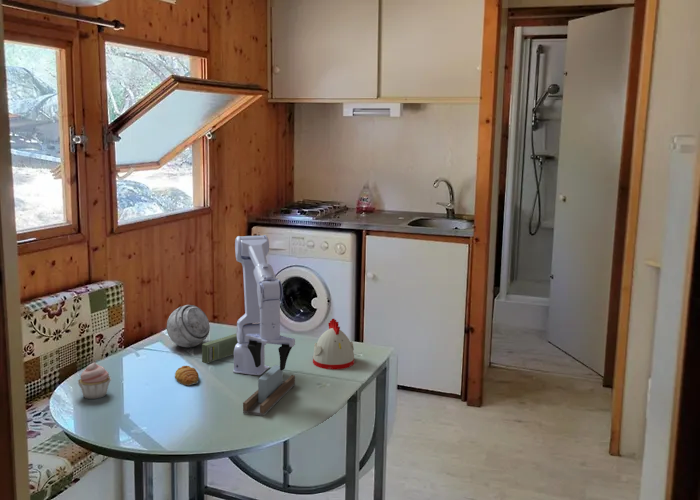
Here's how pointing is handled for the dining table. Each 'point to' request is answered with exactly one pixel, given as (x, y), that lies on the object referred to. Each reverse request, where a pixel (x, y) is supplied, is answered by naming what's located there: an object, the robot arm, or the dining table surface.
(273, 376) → the door panel
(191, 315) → the decorative orb
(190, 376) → the pastry
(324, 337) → the kitchen timer
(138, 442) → the dining table surface
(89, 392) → the cupcake
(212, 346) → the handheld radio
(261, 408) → the floor track
